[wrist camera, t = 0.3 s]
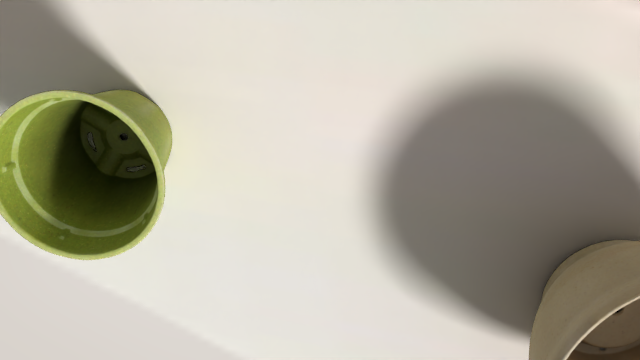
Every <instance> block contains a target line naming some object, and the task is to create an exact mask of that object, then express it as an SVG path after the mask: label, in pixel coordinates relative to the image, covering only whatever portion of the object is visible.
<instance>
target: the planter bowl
mask: <svg viewBox="0 0 640 360" xmlns="http://www.w3.org/2000/svg"><path fill="white" fill-rule="evenodd" d="M621 308H622V309H621ZM619 309H621V310H620V311H619V312H618V313H615V312H616V311H618V310H619ZM529 360H640V241H629V240H611V241H605V242H600V243H597V244H593V245H590V246H588V247H586V248H584V249H582V250H580V251H578V252H576V253H574V254H573V255H571V256H570V257H568V258H567V259H566V260H565V261H564V262H563V263H562V264H560V265H559V267H558V268H557V269H556V270H555V271H554V272H553V274H552V275H551V277H550V279H549V280H548V282H547V284H546V286H545V289H544V291H543V295H542V301H541V304H540V306H539V308H538V311H537V314H536V316H535V320H534V323H533V328H532V332H531V338H530V346H529Z"/></svg>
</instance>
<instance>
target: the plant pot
mask: <svg viewBox="0 0 640 360" xmlns="http://www.w3.org/2000/svg"><path fill="white" fill-rule="evenodd" d="M89 132H91V133H92V135H93V140H94V144H95V146H96V149H97V152H96V151H94V150H93V149H92V147H91V146H90V144H89V142H88V137H87V135H88V133H89ZM122 133H124V134H127V136H128V139H127V140H122V139H121V138H120V135H121V134H122ZM171 147H172V132H171V128H170V125H169V122H168V120H167V118H166V116H165V115H164V113H163V112H162V110H161V109H160V108H159V107H158V106H157V105H156V104H154V103H153V102H152V101H150V100H149V99H147V98H146V97H144V96H142V95H140V94H138V93H136V92H133V91H129V90H111V91H106V92H101V93H97V94H92V95H91V94H88V93H84V92H79V91H71V90H53V91H46V92H41V93H38V94H34V95H31V96H29V97H26V98H24V99H22V100H20V101H18V102H17V103H15V104H14V105H12V106H11V107H10V108H8V109H7V110H6V111H5V112H4V113H3V114H2V115H1V116H0V214H1V215H2V217H3V218H4V219H5V220H6V222H8V223H9V224H10V226H11V227H12V228H13V229H14V230H15V231H16V232H17V233H18V234H20V235H21V236H22V237H23V238H25V239H26V240H28V241H29V242H30V243H32V244H34V245H35V246H37V247H39V248H41V249H43V250H45V251H47V252H50V253H53V254H56V255H59V256H63V257H67V258H72V259H78V260H96V259H102V258H109V257H112V256H116V255H118V254H121V253H123V252H125V251H127V250H129V249H131V248H133V247H134V246H136V245H137V244H138V243H140V242H141V241H142V240H143V239H144V238H145V237H146V236H147V235H148V233H149V232H150V231H151V230H152V228H153V227H154V225H155V224H156V222H157V220H158V218H159V216H160V213H161V210H162V207H163V203H164V197H165V177H164V169H165V166H166V163H167V161H168V158H169V155H170V152H171ZM143 164H144V165H146V168H145V169H143V170H138V171H136V172H128V171H127V170H126V169H127V167H136V166H141V165H143Z"/></svg>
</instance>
